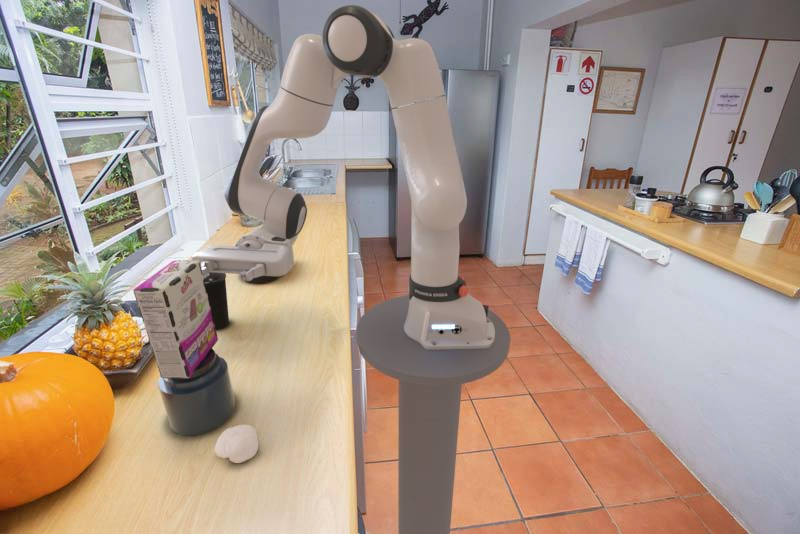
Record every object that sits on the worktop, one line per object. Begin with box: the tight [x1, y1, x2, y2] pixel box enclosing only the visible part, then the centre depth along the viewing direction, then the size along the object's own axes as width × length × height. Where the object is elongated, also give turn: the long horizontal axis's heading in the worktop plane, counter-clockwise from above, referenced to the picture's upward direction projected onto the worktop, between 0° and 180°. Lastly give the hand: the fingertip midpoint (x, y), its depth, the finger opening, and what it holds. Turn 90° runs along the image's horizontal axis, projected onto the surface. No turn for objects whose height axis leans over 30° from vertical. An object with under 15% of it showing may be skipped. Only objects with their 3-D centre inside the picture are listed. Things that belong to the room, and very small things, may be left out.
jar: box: [157, 348, 236, 437], centre depth 69 cm, size 11×11×12 cm
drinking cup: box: [204, 272, 230, 330], centre depth 96 cm, size 8×8×20 cm
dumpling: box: [214, 424, 259, 464], centre depth 63 cm, size 7×5×4 cm
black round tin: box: [240, 275, 281, 285], centre depth 130 cm, size 14×18×8 cm
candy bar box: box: [132, 259, 219, 379], centre depth 64 cm, size 11×5×16 cm, turn 0°
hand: (222, 275), depth 75 cm, fingers open, 8 cm apart
